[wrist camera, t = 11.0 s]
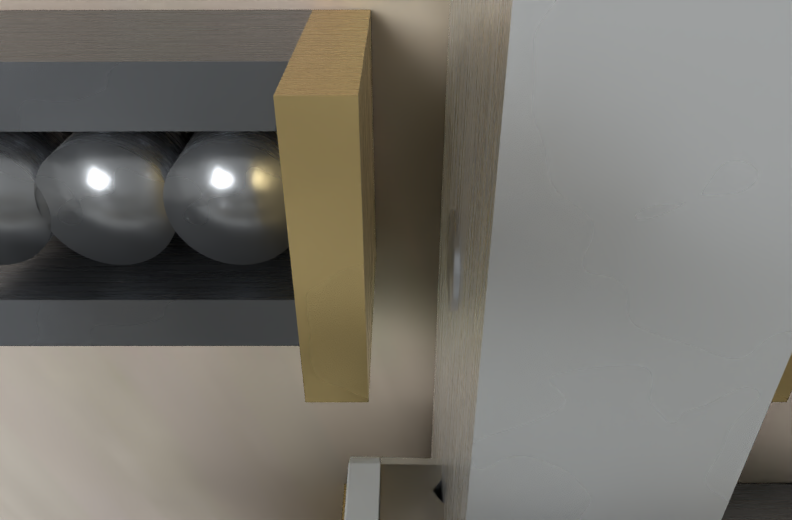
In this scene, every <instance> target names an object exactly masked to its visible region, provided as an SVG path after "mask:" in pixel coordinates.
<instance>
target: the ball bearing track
mask: <svg viewBox="0 0 792 520" xmlns="http://www.w3.org/2000/svg"><path fill="white" fill-rule="evenodd" d="M375 261H376V237H375V192H374V146H373V101H372V56H371V10H8V11H0V346H300V355H301V364H302V374H303V383H304V393H305V402H369V383H370V362H371V342H372V322H373V302H374V282H375ZM791 391H792V354H791V356H790V358H789V361H788V363H787V365H786V368H785V370H784V372H783V375H782V377H781V380H780V382H779V384H778V387H777V389H776V391H775V394H774V396H773V399H772V401H771V402H787V400H788V398H789V396H790V393H791ZM346 489H347V484H345V485H344V497H343V510H342V520H344V515H345V502H346ZM721 520H792V484H736V486H735V488H734V491H733V493H732V496H731V498H730V500H729V503H728V505H727V507H726V510H725V512H724V515H723V517H722V519H721Z"/></svg>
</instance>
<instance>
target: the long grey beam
mask: <svg viewBox="0 0 792 520" xmlns="http://www.w3.org/2000/svg"><path fill="white" fill-rule="evenodd" d="M791 354H792V0H450V14H449V38H448V63H447V87H446V111H445V135H444V159H443V183H442V207H441V231H440V255H439V279H438V304H437V328H436V352H435V376H434V400H433V424H432V448H431V458H440V462H441V474H442V485H441V501H442V502H443V504H444V519H445V520H721V519H722V517H723V515H724V512H725V510H726V507H727V505H728V503H729V500H730V498H731V496H732V493H733V491H734V488H735V486H736V484H737V481H738V479H739V477H740V474H741V472H742V470H743V467H744V465H745V462H746V460H747V458H748V455H749V453H750V451H751V448H752V446H753V444H754V441H755V439H756V436H757V434H758V432H759V429H760V427H761V425H762V422H763V420H764V417H765V415H766V413H767V410H768V408H769V406H770V403H771V401H772V399H773V396H774V394H775V391H776V389H777V387H778V384H779V382H780V380H781V377H782V375H783V372H784V370H785V368H786V365H787V363H788V361H789V358H790V356H791Z"/></svg>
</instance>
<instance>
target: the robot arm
mask: <svg viewBox="0 0 792 520" xmlns="http://www.w3.org/2000/svg"><path fill="white" fill-rule="evenodd" d="M441 485H442V474H441V462H440V458H404V457H350V461H349V465H348V476H347V489H346V502H345V515H344V520H445V519H444V504H443V502H442V501H441Z"/></svg>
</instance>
